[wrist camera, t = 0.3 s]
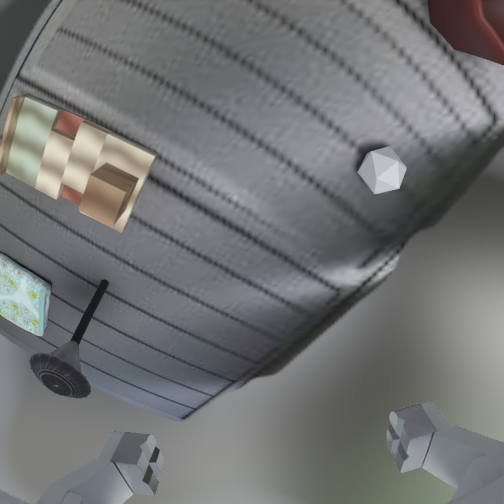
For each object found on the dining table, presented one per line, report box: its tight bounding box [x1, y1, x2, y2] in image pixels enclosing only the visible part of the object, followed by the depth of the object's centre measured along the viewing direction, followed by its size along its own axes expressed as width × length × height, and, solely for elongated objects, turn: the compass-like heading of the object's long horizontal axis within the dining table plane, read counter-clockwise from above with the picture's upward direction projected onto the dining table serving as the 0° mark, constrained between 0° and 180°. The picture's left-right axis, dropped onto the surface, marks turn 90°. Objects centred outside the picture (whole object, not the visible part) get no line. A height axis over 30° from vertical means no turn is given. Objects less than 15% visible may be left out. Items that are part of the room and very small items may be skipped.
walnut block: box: [79, 163, 139, 227], centre depth 51 cm, size 7×7×8 cm
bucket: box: [428, 0, 504, 65], centre depth 28 cm, size 24×22×25 cm
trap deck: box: [0, 94, 158, 233], centre depth 50 cm, size 17×32×6 cm, turn 59°
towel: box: [0, 253, 51, 336], centre depth 67 cm, size 18×21×5 cm
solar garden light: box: [29, 280, 109, 398], centre depth 54 cm, size 12×12×30 cm
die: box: [358, 146, 407, 194], centre depth 53 cm, size 8×9×10 cm
